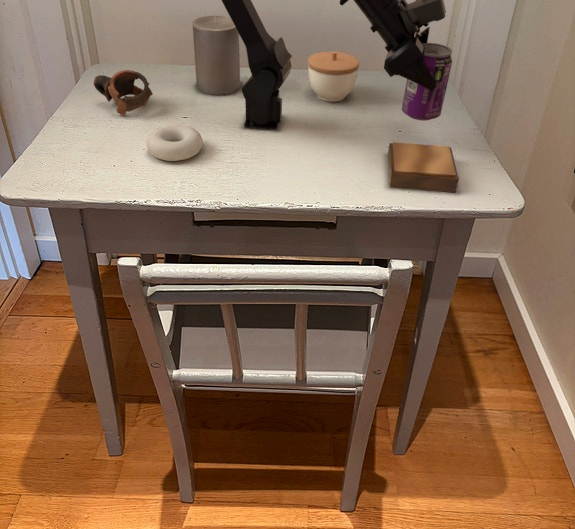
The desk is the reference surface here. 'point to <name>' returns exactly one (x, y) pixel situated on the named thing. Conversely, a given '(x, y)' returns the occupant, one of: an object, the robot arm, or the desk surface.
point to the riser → (422, 167)
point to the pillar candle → (216, 55)
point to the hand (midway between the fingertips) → (435, 81)
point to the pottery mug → (124, 90)
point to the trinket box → (332, 74)
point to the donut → (174, 142)
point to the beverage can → (423, 100)
